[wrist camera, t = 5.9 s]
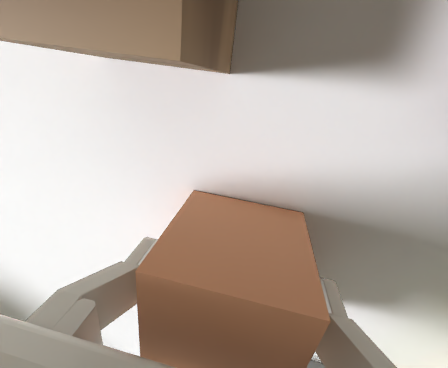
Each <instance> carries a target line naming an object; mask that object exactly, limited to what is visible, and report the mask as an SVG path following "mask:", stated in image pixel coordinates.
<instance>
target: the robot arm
mask: <svg viewBox="0 0 448 368" xmlns="http://www.w3.org/2000/svg"><path fill="white" fill-rule="evenodd" d="M157 241H158V239H153V238H149V237H146V238H144V239H143V240H142V241H141V242H140V244H139V245H138V246H137V247H136V248H135V250H134V251H133V252H132V253H131V255H130V256H129V257H128V258H127V259H126V261H125V262H122V261H121V262H118V263H116V264H114V265H112V266H109V267H107V268H105V269H103V270H100V271H98V272H96V273H94V274H92V275H89V276H87V277H85V278H83V279H80V280H78V281H76V282H74V283H72V284H69V285H67V286H65V287H63V288H60V289H58V290H57V291H56V292H55V293H54V294H53V295H52V296H51V297H50V298H49V299H48V300H47V301H46V302H45V303H43V304H42V305H41V306H40V307H39V308H38V309H37V310H36V311H35V312H34V313H33V314H32V315H31V316H30V317H29V318H28V319H27V320H26V321H25V322H24V321H21V320H18V319H14V318H11V317H8V316H5V315H1V314H0V368H176V367H173V366H170V365H166V364H163V363H160V362H156V361H153V360H150V359H146V358H143V357H140V356H137V355H133V354H130V353H127V352H123V351H120V350H117V349H113V348H110V347H107V346H104V345H103V342H102V336H101V331H100V330H102V329H103V328H104V327H106V326H107V325H108V324H110V323H111V322H113V321H114V320H115V319H117V318H118V317H119V316H121V315H122V314H123V313H125V312H126V311H127V310H129V309H130V308H132V307H133V306H134V305H136V304H137V291H136V274H135V271H136V270H137V268H138V267H139V265H140V264H141V263H142V261H143V260H144V258H145V257H146V256H147V254H148V253H149V252H150V250H151V249H152V247H153V246H154V245H155V243H156V242H157ZM320 281H321V285H322V289H323V293H324V297H325V301H326V305H327V309H328V313H329V317H330V321H331V322H330V324H329V326H328V328H327V329H326V331H325V333H324V335H323V337H322V339H321V341H320V343H319V345H318V347H317V349H316V353H317V355H318V357H319V358H320V360H321V362H322V364H323V365H324V367H325V368H397V367H396V366H395V365H394V364H393V363H392V362H391V361H390V360H389V359H388V358H387V356H386V355H385V354H384V353H383V352H382V351H381V350H380V349H379V348H378V347H377V346H376V345H375V343H374V342H373V341H372V340H371V339H370V338H369V337H368V336H367V335H366V334H365V333H364V332H363V330H362V329H361V328H360V327H359V326H358V325H357V324H356V323H355V322H354V321H353V320H352V319H349V318H348V316H347V313H346V310H345V307H344V305H343V302H342V299H341V296H340V293H339V290H338V287H337V284H336V282H335V281H334V280H329V279H324V278H320Z"/></svg>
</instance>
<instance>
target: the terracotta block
mask: <svg viewBox="0 0 448 368" xmlns="http://www.w3.org/2000/svg"><path fill="white" fill-rule="evenodd" d="M135 274H136V291H137V308H138V324H139V341H140V357H143V358H146V359H150V360H153V361H156V362H160V363H163V364H166V365H170V366H173V367H176V368H307V366H308V364H309V362H310V360H311V358H312V356H313V354H314V352H315V351H316V349H317V347H318V345H319V343H320V341H321V339H322V337H323V335H324V333H325V331H326V329H327V328H328V326H329V324H330V322H331V321H330V317H329V313H328V309H327V305H326V301H325V297H324V293H323V289H322V285H321V281H320V277H319V273H318V269H317V265H316V261H315V257H314V253H313V249H312V245H311V241H310V237H309V234H308V230H307V226H306V222H305V218H304V214H303V213H302V212H298V211H293V210H288V209H283V208H278V207H273V206H268V205H263V204H258V203H254V202H249V201H244V200H239V199H234V198H229V197H224V196H219V195H215V194H210V193H205V192H200V191H195V190H194V191H193V192H192V194H191V195H190V196H189V198H188V199H187V200H186V202H185V203H184V205H183V206H182V207H181V209H180V210H179V211H178V213H177V214H176V216H175V217H174V218H173V220H172V221H171V223H170V224H169V225H168V227H167V228H166V229H165V231H164V232H163V234H162V235H161V236H160V238H159V239H158V241H157V242H156V243H155V245H154V246H153V247H152V249H151V250H150V252H149V253H148V254H147V256H146V257H145V258H144V260H143V261H142V263H141V264H140V265H139V267H138V268H137V270H136V271H135Z"/></svg>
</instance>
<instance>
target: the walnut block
mask: <svg viewBox="0 0 448 368" xmlns="http://www.w3.org/2000/svg"><path fill="white" fill-rule="evenodd" d="M237 8H238V0H0V41H6V42H13V43H19V44H25V45H31V46H37V47H43V48H50V49H56V50H62V51H68V52H74V53H80V54H87V55H93V56H99V57H105V58H113V59H120V60H128V61H136V62H143V63H151V64H159V65H166V66H174V67H181V68H189V69H197V70H204V71H212V72H220V73H227V74H230V67H231V58H232V50H233V42H234V33H235V25H236V16H237Z"/></svg>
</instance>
